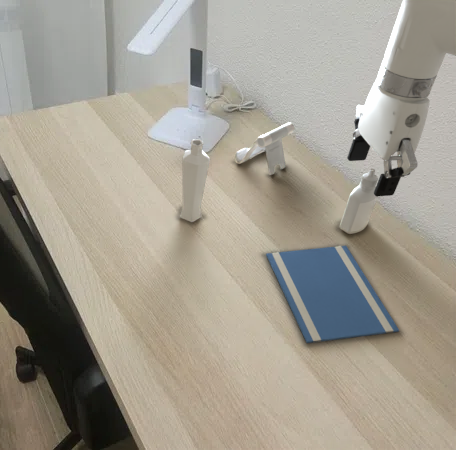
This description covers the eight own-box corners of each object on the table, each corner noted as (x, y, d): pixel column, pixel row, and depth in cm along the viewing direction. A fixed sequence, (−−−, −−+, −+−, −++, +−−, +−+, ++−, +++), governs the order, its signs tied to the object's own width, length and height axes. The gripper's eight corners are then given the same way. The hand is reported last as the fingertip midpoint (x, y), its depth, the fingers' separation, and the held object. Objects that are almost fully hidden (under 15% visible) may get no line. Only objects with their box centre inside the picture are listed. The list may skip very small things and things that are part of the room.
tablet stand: (262, 146, 115) (269, 111, 110) (292, 163, 111) (300, 127, 106) (234, 161, 111) (239, 124, 106) (263, 179, 107) (270, 142, 101)
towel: (345, 247, 93) (346, 245, 92) (398, 331, 79) (399, 329, 79) (265, 255, 91) (266, 253, 90) (306, 343, 77) (307, 341, 77)
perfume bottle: (207, 211, 99) (216, 140, 89) (196, 225, 96) (204, 152, 86) (185, 203, 100) (191, 131, 91) (173, 216, 97) (178, 143, 88)
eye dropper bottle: (373, 233, 95) (395, 177, 88) (342, 235, 95) (361, 178, 87) (363, 217, 99) (383, 161, 91) (333, 218, 98) (351, 163, 90)
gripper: (463, 108, 73) (417, 208, 84) (399, 53, 86) (366, 146, 97) (412, 111, 72) (372, 211, 83) (354, 54, 85) (326, 148, 96)
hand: (369, 176), depth 90 cm, fingers open, 9 cm apart
